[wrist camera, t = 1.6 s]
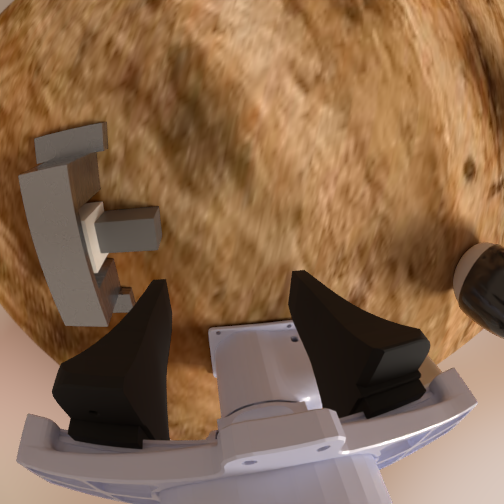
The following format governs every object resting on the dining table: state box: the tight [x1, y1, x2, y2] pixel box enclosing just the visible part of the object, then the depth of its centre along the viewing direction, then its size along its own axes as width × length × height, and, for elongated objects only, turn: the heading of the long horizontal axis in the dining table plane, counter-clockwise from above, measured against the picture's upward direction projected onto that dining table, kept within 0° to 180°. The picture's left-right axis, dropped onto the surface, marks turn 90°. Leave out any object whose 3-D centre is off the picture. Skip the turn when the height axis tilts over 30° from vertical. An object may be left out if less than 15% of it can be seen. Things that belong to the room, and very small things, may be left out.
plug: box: [79, 201, 162, 273], centre depth 18 cm, size 8×4×4 cm, turn 88°
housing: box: [18, 122, 136, 327], centre depth 17 cm, size 6×16×5 cm, turn 178°
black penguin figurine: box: [453, 243, 504, 339], centre depth 23 cm, size 10×10×15 cm
